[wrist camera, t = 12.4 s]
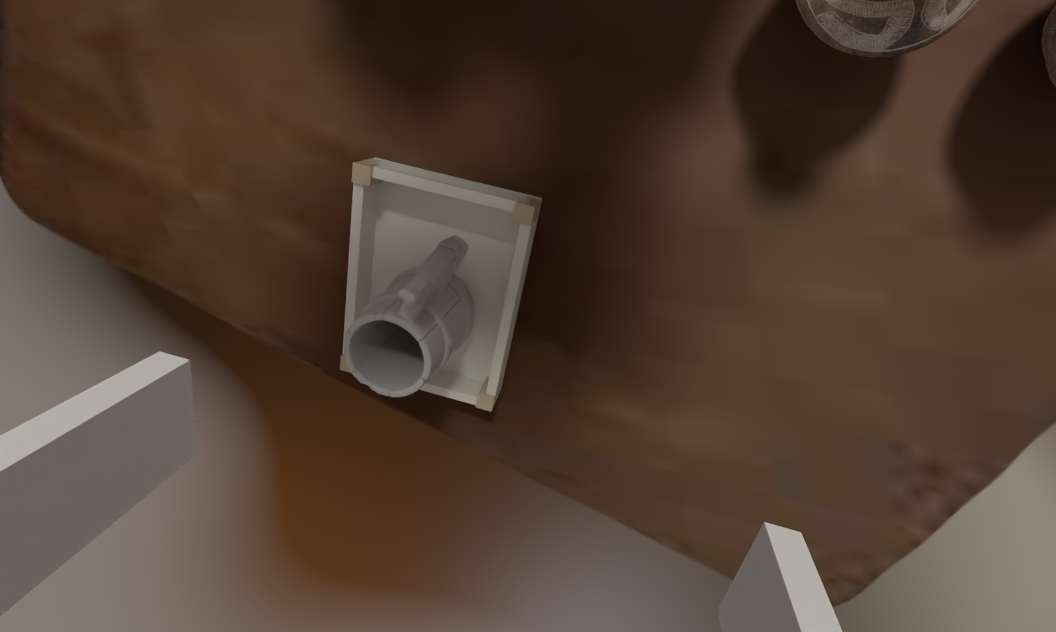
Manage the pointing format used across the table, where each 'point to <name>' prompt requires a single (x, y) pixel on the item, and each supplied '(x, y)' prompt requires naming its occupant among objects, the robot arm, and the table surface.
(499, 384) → the crate
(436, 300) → the mug
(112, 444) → the robot arm
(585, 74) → the table surface
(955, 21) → the pottery
